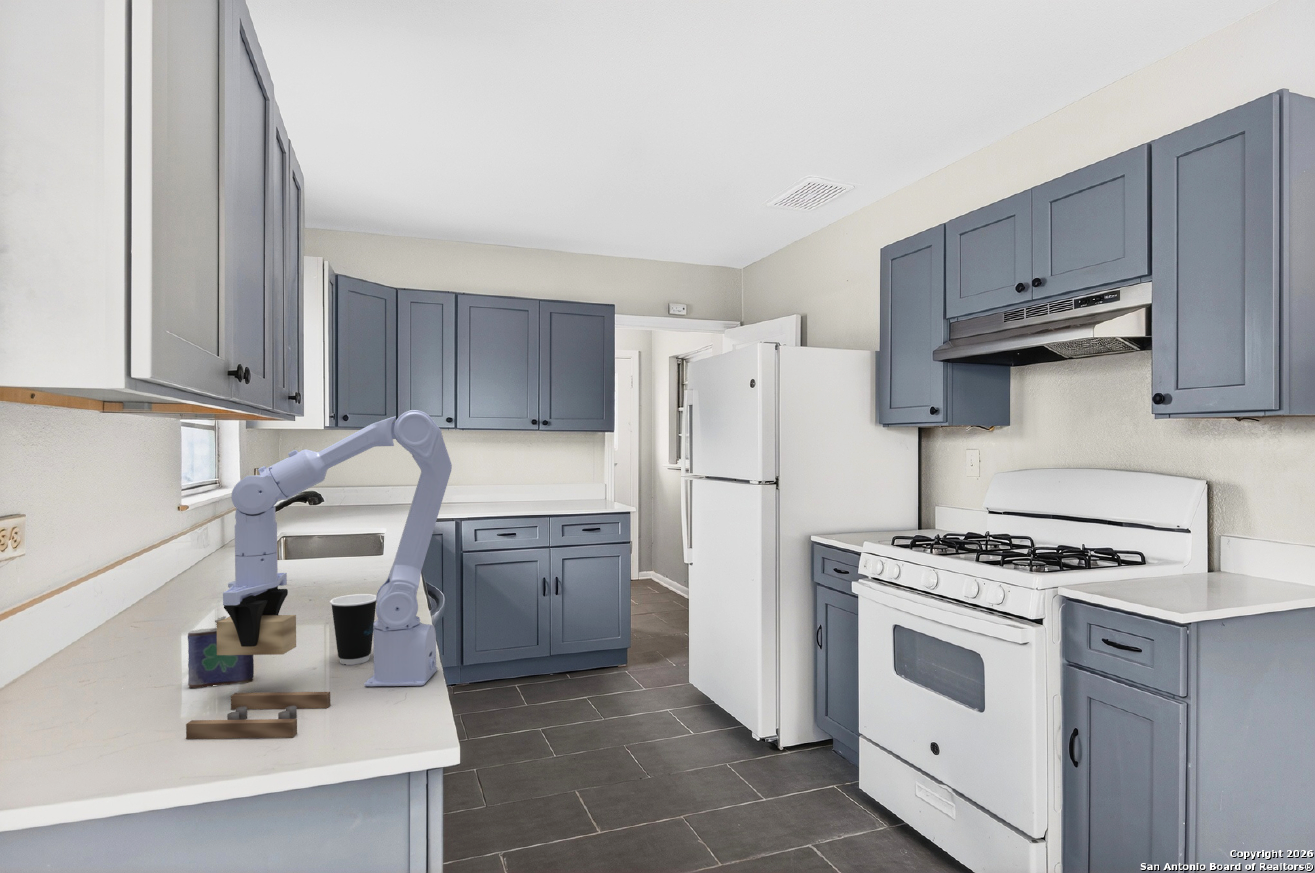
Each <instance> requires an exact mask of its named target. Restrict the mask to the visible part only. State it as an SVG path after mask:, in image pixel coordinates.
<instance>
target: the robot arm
mask: <svg viewBox="0 0 1315 873" xmlns="http://www.w3.org/2000/svg"><path fill="white" fill-rule="evenodd" d="M396 417H397V416H396V415H395V416H391V417H389V418H386V419H382V420H380V421H376V422H374V423H371V424H369V425H367V426H365V427H363V428H361V429H359V430H358V431H356V432H354V433H352V434H350V435H348V436H346V437H344V438H343V439H340V440H339V441H337V442H335V443H333V444H331V445H329V446H328V447H325V448H324V449H321V450H320V451H314V450H310V449H306V448H305V449H302V450H300V451H298V450H297V449H294V450H291V451H290V452H288V453H287V455H288V457H287V458H284V459H281V460H280V461H278V462H275V463H274V464H272V465H270V466H266V465H263V466H261V467H259V468H258V469H257V471H258V473H259V474H255V475H253V474H252V475H246V476H245V477H243V479H241V480H239V481H238V482H237V483H235V485H234V487H233V489H232V490H231V496H230V497H231V502H232V504H233V506H234V508H235V514H234V515H235V516H234V519H235V524H234V568H235V569H234V571H235V572H234V576H235V577H234V578H235V579H234V581H230V582H228V583H227V588H228V589H227V590H225V591H223V592H222V606H223V609H224V610H225V611H226V613H227V614H228V615H229V617H231V619H232V621H233V623H234V625H235V628H236V631H237V634H238V637H239V641H240V644H241V646H242V647H252V646H256V645H257V643H258V639H259V631H260V622H261V617H262V615H280V610H281V608H282V606H283V603H284V602H285V599H286V598H287V596H288V593H289V591H288V589H287V588H279V586H280V587H282V586H286V585H287V584H288V583H287V581H288V579H287V578H288V575H287V572H278V570H279V569H278V522H277V520H276V519H277V518H276V506H275V505H276V504H277V503H278V502H279V500H283V501H286V500H289V499H290V498H292V497H294V496H297V495H298V494H301V493H302V492H305V491H306V490H308V489H311V488H313V487H314V486H316V485H317V484H320V483H322V482H324V481H325V479H326V476H327V472H328V470H329V469H330V468H332V467H335V466H337V465H339V464H341V463H344V462H345V461H347V460H349V459H352V458H354V457H356V456H358V455H360V454H362V453H364V452H366V451H368V450H370V449H373V448H375V447H394V446H395V444H394V440H396V442H397V443H398V444H399V445H401V447H403V448H404V450H406V451H408V453H409V454H411V455H412V459H413V460H414V461H415V463H416V465H417V466H418V467H419V469H420V475H419V478H418V481H417V484H416V487H415V491H414V494H413V498H412V501H411V504H410V508H409V512H408V514H407V518H406V522H405V524H404V527H403V531H402V534H401V537H400V541H399V544H398V547H397V551H396V553H395V557H394V561H393V562H392V566H391V568H390V569H389V573H388V576H387V578H386V580H385V582H383V583H382V585H381V586H380V587H379V588H378V590H377V592H376V609H375V615H376V617H377V619H376V620H374V623H373V626H374V627H373V674H372V676H371V677H370V678H368V679H367V681H365V682H364V683H363V684H364V687H399V686H400V687H401V686H402V687H404V686H407V687H409V686H411V687H412V686H413V687H414V686H424V685H425V684H426V683H427V682H428V681H429V680H430V679H431V677H432V676H433V675H435V673H436V672H437V671H438V667H437V634H436V633H437V632H436V628H435V626H434V624H427V623H422V622H421V619H420V617H419V616H418V615H417V614H418V611H419V604H418V598H417V594H418V590H419V585H420V581H421V577H422V576H421V575H422V569H423V566H424V563H425V560H426V556H427V553H428V549H429V547H430V543H431V540H432V537H433V533H434V529H435V526H436V524H437V519H438V516H439V513H440V510H441V507H442V503H443V500H444V497H445V493H446V490H447V487H448V486H447V485H448V483H449V480H450V477H451V473H452V467H453V465H452V461H451V458H450V455H449V452H448V450H447V446H446V443H445V441H444V438H443V437H444V436H443V434H442V433H443V432H442V430H441V428H440V427H439V426H438V424H437V423H436V422H435V421H434V419H433V418H432V417H431V416H430V415H429V414H428V413H426V412H424V411H422V410H417V409H411V410H407V411H405V412H403V413H402V414H400V415H399V416H398V418H397V419H396ZM394 421H395V422H394Z"/></svg>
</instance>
